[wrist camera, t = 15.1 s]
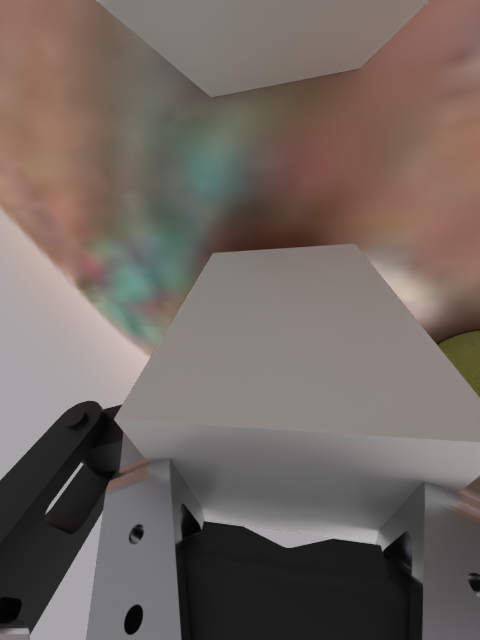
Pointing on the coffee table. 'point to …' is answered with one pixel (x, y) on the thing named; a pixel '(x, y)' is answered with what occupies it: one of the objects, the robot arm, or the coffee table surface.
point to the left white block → (263, 37)
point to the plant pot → (465, 356)
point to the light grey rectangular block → (302, 396)
